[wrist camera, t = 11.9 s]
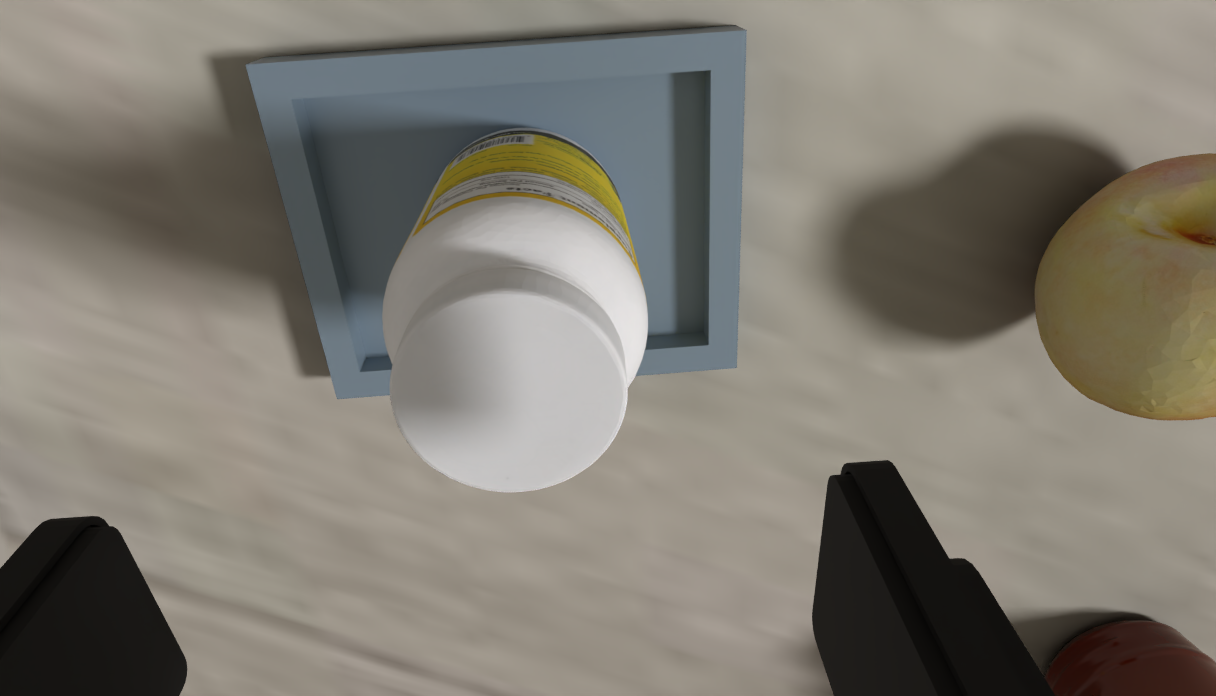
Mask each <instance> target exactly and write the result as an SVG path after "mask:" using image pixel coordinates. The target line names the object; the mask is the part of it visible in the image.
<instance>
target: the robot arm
mask: <svg viewBox="0 0 1216 696" xmlns="http://www.w3.org/2000/svg"><path fill="white" fill-rule="evenodd" d="M812 622H813V631H814V635H815V640H816V643H817V646H818V649H819V652H820V655H821V658H822V661H823V664H824V667H825V670H826V673H827V676H828V679H829V682H830V685H831V688H832V691H833V694H834V696H1055V694H1054V693H1053V691H1052V689H1051V688H1050V686H1049V685H1048V683H1047V681H1046V680H1045V678H1044V676H1043V675H1042V673H1041V672H1040V670H1039V668H1038V667H1037V665H1036V664H1035V662H1034V660H1033V659H1032V657H1031V656H1030V654H1029V652H1028V651H1027V649H1026V647H1025V646H1024V644H1023V643H1022V641H1021V639H1020V638H1019V636H1018V635H1017V633H1016V631H1015V630H1014V628H1013V627H1012V625H1011V623H1010V622H1009V620H1008V618H1007V617H1006V615H1005V614H1004V612H1003V610H1002V609H1001V607H1000V606H999V604H998V602H997V601H996V599H995V597H994V596H993V594H992V593H991V591H990V589H989V588H988V586H987V585H986V583H985V581H984V580H983V578H982V577H981V575H980V574H979V572H978V571H977V570H976V568H975V567H974V566H973V564H971V563H970V562H968V561H967V560H966V559H962V558H955V559H949V557H948V556H947V554H946V552H945V551H944V549H943V547H942V546H941V544H940V542H939V540H938V539H937V537H936V535H935V534H934V532H933V530H932V529H931V527H930V525H929V523H928V522H927V520H926V518H925V517H924V515H923V513H922V511H921V510H920V508H919V506H918V505H917V503H916V501H915V500H914V498H913V496H912V494H911V493H910V491H909V489H908V488H907V486H906V484H905V483H904V481H903V479H902V477H901V476H900V474H899V472H898V471H897V469H896V467H895V466H894V465H893V463H892V462H890V461H888V460H884V461H870V462H856V463H846V464H844V466H843V467H842V471H841V475H832V476H830V477H829V480H828V485H827V494H826V502H825V510H824V519H823V527H822V536H821V544H820V553H819V561H818V569H817V578H816V586H815V595H814V603H813V612H812ZM186 676H187V662H186V659H185V656H184V654H183V652H182V651H181V649H180V647H179V645H178V643H177V641H176V639H175V637H174V635H173V633H172V631H171V629H170V627H169V626H168V624H167V622H166V620H165V618H164V616H163V614H162V612H161V610H160V608H159V606H158V604H157V602H156V601H155V599H154V597H153V595H152V593H151V591H150V589H149V587H148V585H147V583H146V581H145V579H144V578H143V576H142V574H141V572H140V570H139V568H138V566H137V564H136V562H135V560H134V558H133V556H132V554H131V553H130V551H129V549H128V547H127V545H126V543H125V541H124V539H123V537H122V535H121V533H120V532H119V531H118V529H116V528H115V527H113V526H109V525H108V524H107V523H106V521H105V520H104V519H102V518H100V517H97V516H87V517H73V518H59V519H50V520H47V521H44V522H42V523H41V524H40V525H39V526H38V527H37V528H36V529H35V530H34V531H33V532H32V533H31V534H30V535H29V537H28V538H27V539H26V540H25V541H24V542H23V543H22V544H21V546H20V547H19V548H18V549H17V550H16V551H15V552H14V554H13V555H12V556H11V557H10V558H9V559H8V560H7V561H6V563H5V564H4V565H3V566H2V567H1V568H0V696H179V695H180V693H181V691H182V689H183V686H184V684H185V681H186Z"/></svg>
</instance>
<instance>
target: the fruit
mask: <svg viewBox="0 0 1216 696" xmlns="http://www.w3.org/2000/svg"><path fill="white" fill-rule="evenodd" d="M1034 295H1035V309H1036V319H1037V324H1038V328H1039V333H1040V337H1041V340H1042V342H1043V344H1044V347H1045V349H1046V351H1047V353H1048V355H1049V357H1050V359H1051V361H1052V362H1053V364H1054V365H1055V367H1056V368H1057V369H1058V370H1059V372H1060V373H1061V374H1062V376H1063V377H1064V378H1065V379H1066V380H1067V381H1068V382H1069V383H1070V384H1071V385H1072V386H1074V387H1075V388H1076V389H1077V390H1078V391H1079V392H1080V393H1082V394H1083V395H1085V396H1086V397H1088V398H1089V399H1091V400H1093V401H1096V402H1098V403H1100V404H1103V405H1105V406H1107V407H1109V408H1112V409H1114V410H1116V411H1120V412H1123V413H1126V414H1129V415H1133V416H1138V417H1143V418H1148V419H1156V420H1195V419H1203V418H1208V417H1216V154H1199V155H1189V156H1181V157H1176V158H1171V159H1165V160H1162V161H1158V162H1154V163H1151V164H1148V165H1145V166H1142V167H1140V168H1138V169H1136V170H1133V171H1131V172H1129V173H1127V174H1125V175H1123V176H1121V177H1120V178H1118V179H1116V180H1114V181H1113V182H1111V183H1109V184H1108V185H1107V186H1105V187H1104V188H1103V189H1101V190H1100V191H1099V192H1097V193H1096V194H1095V195H1093V196H1092V197H1091V198H1090V199H1089V200H1087V201H1086V202H1085V203H1084V204H1083V205H1082V206H1081V207H1080V208H1079V209H1078V210H1077V211H1076V212H1074V213H1073V214H1072V215H1071V217H1070V218H1069V219H1068V220H1067V221H1066V222H1065V223H1064V224H1063V225H1062V227H1061V228H1059V230H1058V231H1057V233H1056V234H1055V236H1054V237H1053V239H1052V240H1051V241H1050V243H1049V245H1048V247H1047V249H1046V251H1045V253H1044V255H1043V257H1042V260H1041V262H1040V265H1039V268H1038V272H1037V276H1036V281H1035V292H1034Z"/></svg>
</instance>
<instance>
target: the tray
mask: <svg viewBox="0 0 1216 696" xmlns="http://www.w3.org/2000/svg"><path fill="white" fill-rule="evenodd" d="M746 31H747V30H745V29H743V28H741V27H738V26H736V25H731V26H716V27H702V28H687V29H672V30H658V31H643V32H629V33H614V34H599V35H585V36H570V37H555V38H541V39H526V40H511V41H497V42H482V43H467V44H453V45H438V46H424V47H409V48H394V49H380V50H365V51H350V52H336V53H321V54H306V55H292V56H277V57H264V58H261V59H259V60H256V61H253V62H251V63H248V64H245V65H246V69H247V72H248V76H249V80H250V83H251V87H252V90H253V94H254V98H255V101H256V105H257V109H258V112H259V116H260V120H261V123H262V127H263V131H264V134H265V138H266V142H267V145H268V149H269V152H270V156H271V160H272V163H273V167H274V171H275V174H276V178H277V182H278V185H279V189H280V193H281V196H282V200H283V204H284V207H285V211H286V214H287V218H288V222H289V225H290V229H291V233H292V236H293V240H294V244H295V247H296V251H297V255H298V258H299V262H300V266H301V269H302V273H303V276H304V280H305V284H306V287H307V291H308V295H309V298H310V302H311V306H312V309H313V313H314V317H315V320H316V324H317V328H318V331H319V335H320V338H321V342H322V346H323V349H324V353H325V357H326V360H327V364H328V368H329V371H330V375H331V379H332V382H333V386H334V390H335V393H336V397H337V399H346V398H359V397H372V396H384V395H390V375H391V370H392V362H391V360H390V357H389V354H388V352H387V348H386V344H385V340H384V334H383V321H382V311H383V300H384V295H385V291H386V286H387V283H388V279H389V276H390V274H391V271H392V269H393V267H394V264H395V262H396V260H397V258H398V256H399V254H400V252H401V250H402V248H403V246H404V244H405V243H406V241H407V239H408V237H409V235H410V233H411V231H412V229H413V228H414V226H415V224H416V222H417V220H418V218H419V216H420V214H421V212H422V210H423V208H424V206H425V204H426V202H427V200H428V198H429V196H430V194H431V192H432V190H433V188H434V186H435V184H436V182H437V180H438V179H439V178H440V176H441V174H442V173H443V171H444V169H445V168H446V166H447V165H448V164H449V163H450V161H451V160H452V159H453V158H454V157H455V156H456V155H457V154H458V153H459V152H460V151H461V150H463V149H464V148H465V147H466V146H468V145H469V144H471V143H472V142H474V141H476V140H478V139H479V138H481V137H483V136H486V135H488V134H491V133H494V132H497V131H500V130H506V129H512V128H536V129H542V130H547V131H551V132H554V133H557V134H560V135H562V136H565V137H567V138H569V139H571V140H573V141H574V142H576V143H578V144H579V145H580V146H582V147H583V148H585V149H586V150H587V151H588V152H590V153H591V154H592V155H593V156H594V157H595V158H596V159H597V160H598V161H599V162H600V164H601V165H602V166H603V168H604V169H605V170H606V172H607V173H608V174H609V176H610V178H611V179H612V181H613V183H614V185H615V187H616V189H617V192H618V195H619V197H620V200H621V203H622V207H623V211H624V214H625V218H626V221H627V225H628V229H629V233H630V237H631V240H632V244H633V248H634V252H635V256H636V259H637V263H638V267H639V271H640V275H641V279H642V283H643V287H644V291H645V295H646V302H647V311H648V333H647V341H646V347H645V351H644V355H643V358H642V361H641V364H640V366H639V368H638V371H637V373H636V376H640V375H653V374H665V373H678V372H691V371H704V370H716V369H729V368H737V341H738V307H739V272H740V238H741V203H742V169H743V134H744V100H745V65H746Z"/></svg>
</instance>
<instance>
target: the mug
mask: <svg viewBox="0 0 1216 696" xmlns="http://www.w3.org/2000/svg"><path fill="white" fill-rule="evenodd" d="M1045 680H1046V681H1047V683H1048V685H1049V686H1050V688H1051V689H1052V691H1053V693H1054V694H1055V696H1216V662H1215V661H1214V660H1213V659H1212V658H1210V657H1209V656H1208V655H1206V654H1204V653H1203V652H1202V651H1200V650H1199V649H1198V648H1197V647H1196V646H1195V645H1194V644H1192V643H1191V642H1190V641H1189V640H1187V639H1186V638H1185V637H1184V636H1183V635H1182V634H1181V633H1179V632H1178V631H1177V630H1175V629H1174V628H1172V627H1170V626H1168V625H1165V624H1162V623H1159V622H1154V621H1145V620H1124V621H1116V622H1111V623H1107V624H1104V625H1101V626H1098V627H1095V628H1093V629H1090V630H1088V631H1086V632H1084V633H1082V634H1080V635H1078V636H1077V637H1075V638H1074V639H1072V640H1071V641H1070V642H1069V643H1068V644H1066V645H1065V646H1064V647H1063V648H1062V649H1061V650H1060V651H1059V653H1058V654H1057V655H1056V657H1055V658H1054V660H1053V661H1052V663H1051V665H1050V666H1049V668H1048V670H1047V672H1046V675H1045Z"/></svg>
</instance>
